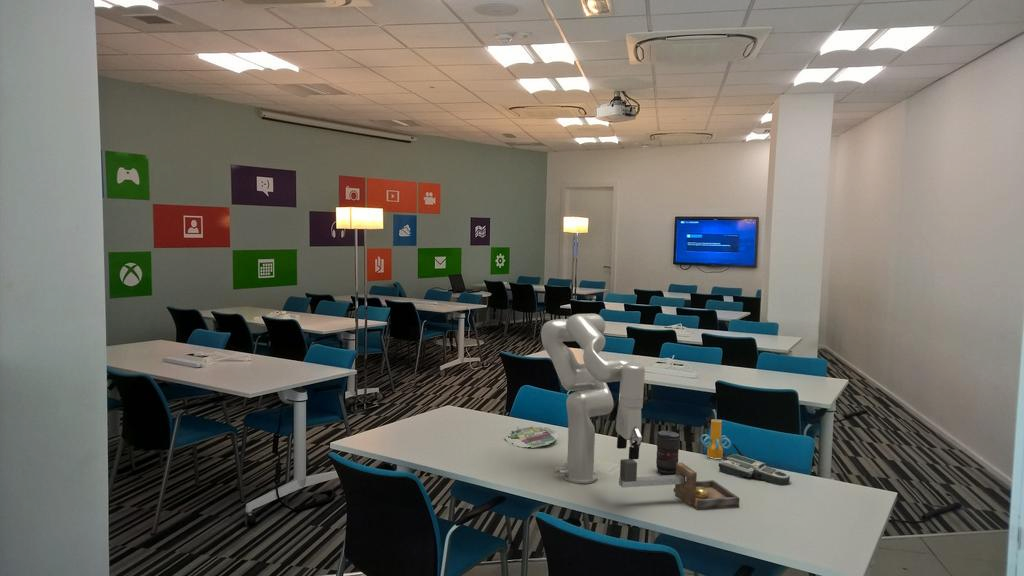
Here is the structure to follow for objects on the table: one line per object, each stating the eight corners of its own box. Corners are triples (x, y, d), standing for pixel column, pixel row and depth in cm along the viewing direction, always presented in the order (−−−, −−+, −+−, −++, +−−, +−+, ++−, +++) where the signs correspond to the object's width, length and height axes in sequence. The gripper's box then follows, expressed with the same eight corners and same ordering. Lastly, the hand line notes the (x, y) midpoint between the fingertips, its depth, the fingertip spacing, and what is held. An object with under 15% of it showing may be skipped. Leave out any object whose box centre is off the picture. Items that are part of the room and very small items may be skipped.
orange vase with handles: (711, 463, 248) (713, 425, 247) (694, 454, 258) (695, 418, 257) (735, 459, 253) (737, 422, 252) (717, 451, 263) (719, 416, 262)
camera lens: (678, 477, 231) (680, 437, 230) (656, 475, 232) (657, 435, 232) (677, 470, 239) (679, 431, 238) (655, 468, 240) (657, 429, 239)
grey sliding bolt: (623, 488, 202) (623, 463, 202) (618, 483, 206) (619, 459, 206) (685, 484, 207) (686, 460, 207) (680, 479, 211) (681, 456, 211)
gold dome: (709, 492, 208) (709, 499, 209) (706, 487, 213) (706, 494, 213) (695, 491, 209) (695, 498, 209) (693, 486, 213) (693, 493, 213)
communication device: (782, 490, 223) (784, 466, 222) (717, 472, 238) (718, 449, 238) (793, 481, 232) (795, 458, 231) (729, 464, 247) (731, 442, 247)
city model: (491, 442, 274) (490, 428, 273) (533, 428, 288) (533, 415, 287) (527, 459, 254) (526, 445, 254) (570, 443, 268) (570, 429, 267)
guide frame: (694, 510, 202) (695, 476, 201) (670, 491, 218) (672, 459, 217) (739, 507, 206) (740, 473, 205) (712, 488, 221) (714, 457, 220)
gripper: (609, 394, 211) (606, 444, 213) (630, 409, 194) (627, 463, 196) (630, 394, 213) (627, 444, 214) (653, 409, 196) (649, 463, 198)
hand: (627, 453), depth 205 cm, fingers open, 9 cm apart
